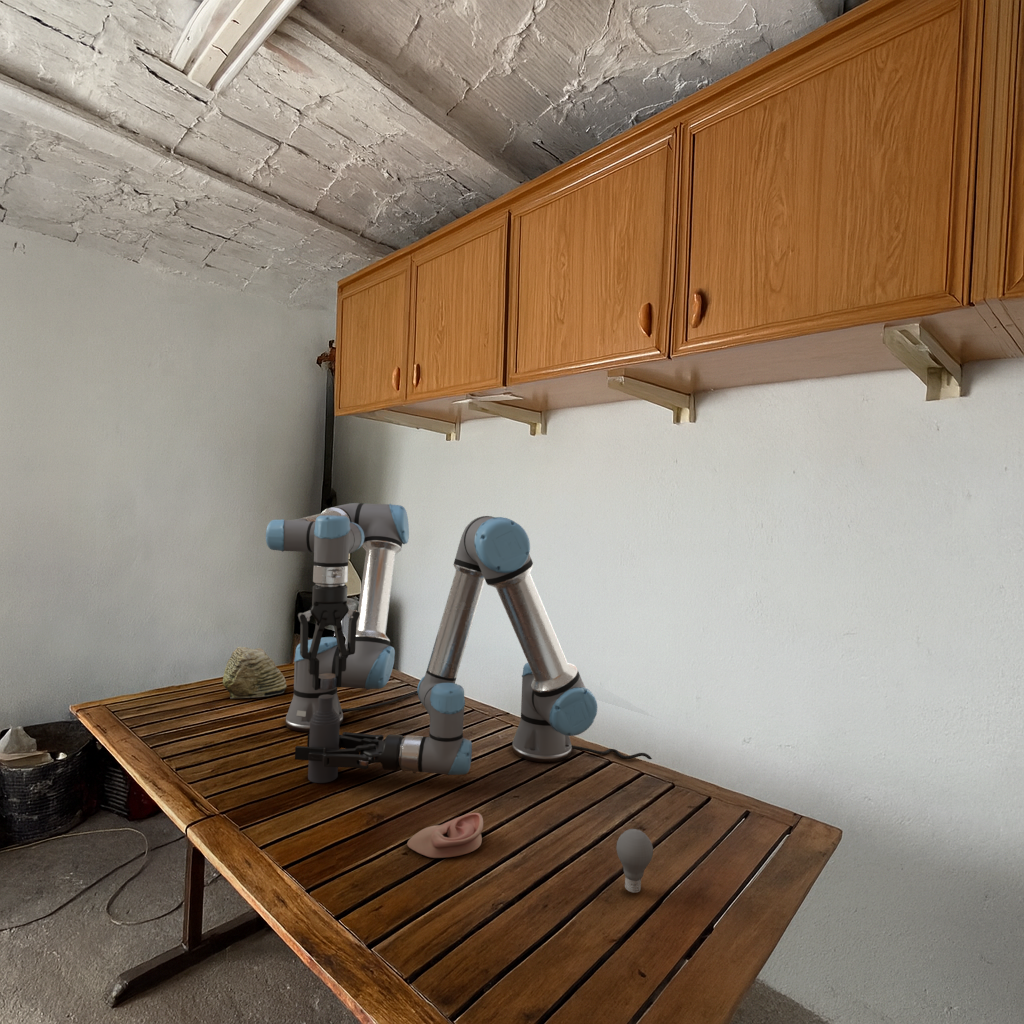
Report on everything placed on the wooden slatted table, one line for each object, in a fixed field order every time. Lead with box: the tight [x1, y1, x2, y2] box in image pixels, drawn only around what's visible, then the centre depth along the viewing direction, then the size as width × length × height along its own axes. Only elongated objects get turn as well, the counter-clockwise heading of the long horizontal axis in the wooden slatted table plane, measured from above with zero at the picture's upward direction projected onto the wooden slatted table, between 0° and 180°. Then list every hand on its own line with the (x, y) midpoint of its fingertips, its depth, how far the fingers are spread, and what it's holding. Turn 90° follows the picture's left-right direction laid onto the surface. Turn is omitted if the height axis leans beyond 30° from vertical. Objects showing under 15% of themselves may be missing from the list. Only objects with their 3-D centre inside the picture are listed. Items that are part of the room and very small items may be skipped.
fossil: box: [222, 646, 288, 699], centre depth 198 cm, size 9×18×15 cm, turn 132°
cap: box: [318, 673, 338, 690], centre depth 143 cm, size 4×4×2 cm
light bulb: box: [615, 828, 654, 894], centre depth 106 cm, size 6×6×10 cm
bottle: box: [307, 695, 341, 784], centre depth 143 cm, size 6×6×18 cm
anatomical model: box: [406, 812, 484, 859], centre depth 118 cm, size 13×4×12 cm
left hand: (326, 686), depth 143 cm, fingers closed on cap, 4 cm apart
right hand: (302, 746), depth 143 cm, fingers closed on bottle, 6 cm apart
